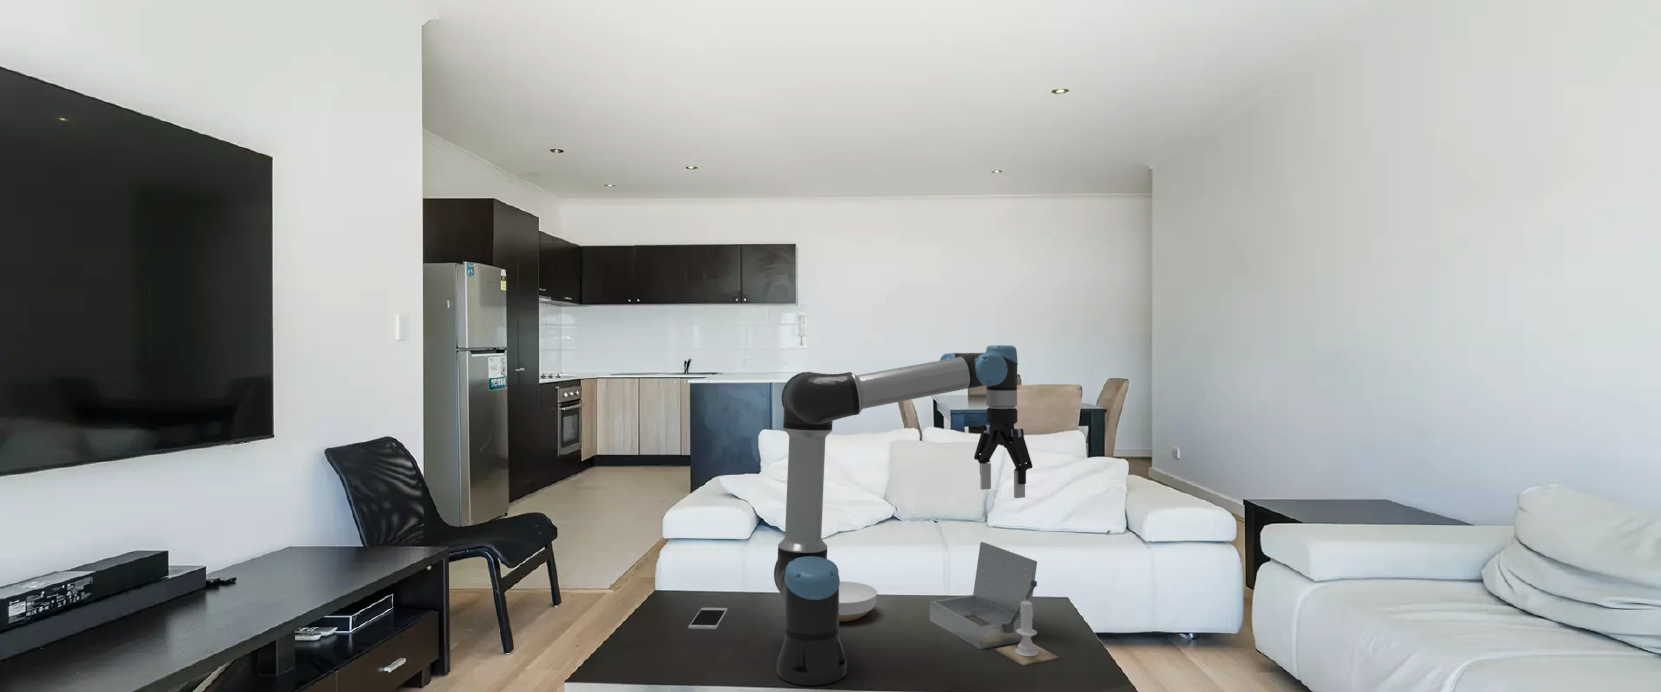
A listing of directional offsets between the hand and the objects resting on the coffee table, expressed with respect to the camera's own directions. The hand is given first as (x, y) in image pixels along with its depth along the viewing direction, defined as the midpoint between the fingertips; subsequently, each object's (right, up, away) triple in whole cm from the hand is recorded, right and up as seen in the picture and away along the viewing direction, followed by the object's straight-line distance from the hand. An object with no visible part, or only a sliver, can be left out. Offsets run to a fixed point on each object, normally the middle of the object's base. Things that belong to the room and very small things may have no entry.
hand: (1002, 493), depth 192 cm
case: (-4, -35, +2) cm, 35 cm away
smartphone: (-74, -35, +10) cm, 83 cm away
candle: (+3, -34, -14) cm, 37 cm away
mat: (+3, -34, -14) cm, 37 cm away
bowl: (-40, -35, +14) cm, 55 cm away
